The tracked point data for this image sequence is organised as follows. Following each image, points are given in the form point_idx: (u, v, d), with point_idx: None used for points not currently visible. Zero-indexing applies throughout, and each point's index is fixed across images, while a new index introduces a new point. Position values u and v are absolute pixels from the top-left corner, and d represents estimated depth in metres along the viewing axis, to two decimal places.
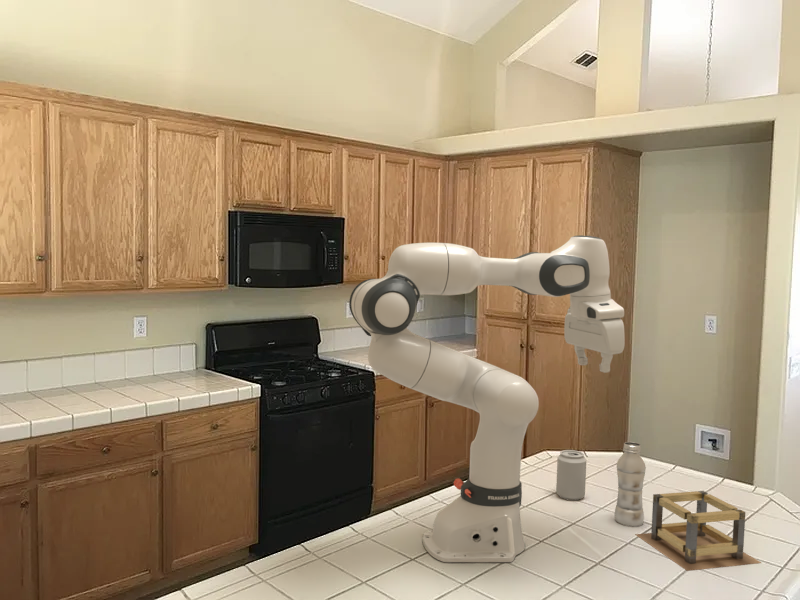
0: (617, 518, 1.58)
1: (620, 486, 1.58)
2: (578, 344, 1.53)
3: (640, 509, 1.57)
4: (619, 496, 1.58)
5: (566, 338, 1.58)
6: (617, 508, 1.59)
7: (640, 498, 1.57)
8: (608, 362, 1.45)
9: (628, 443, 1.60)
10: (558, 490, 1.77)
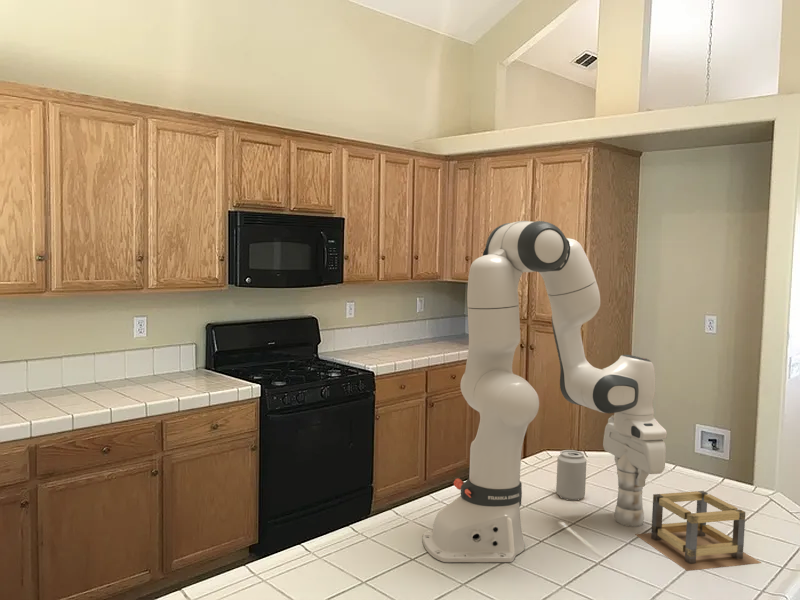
0: (617, 518, 1.58)
1: (620, 486, 1.58)
2: (617, 455, 1.61)
3: (640, 509, 1.57)
4: (619, 496, 1.58)
5: (605, 446, 1.66)
6: (617, 508, 1.59)
7: (640, 498, 1.57)
8: (644, 478, 1.54)
9: None
10: (558, 490, 1.77)
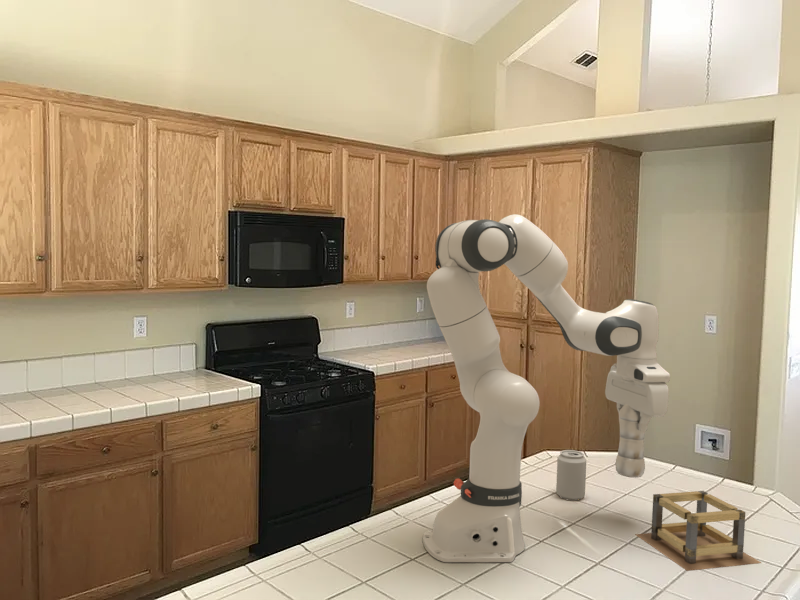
0: (618, 467, 1.57)
1: (622, 435, 1.57)
2: (619, 402, 1.60)
3: (641, 458, 1.56)
4: (621, 445, 1.57)
5: (607, 394, 1.65)
6: (618, 457, 1.57)
7: (642, 447, 1.56)
8: (646, 422, 1.53)
9: None
10: (558, 490, 1.77)
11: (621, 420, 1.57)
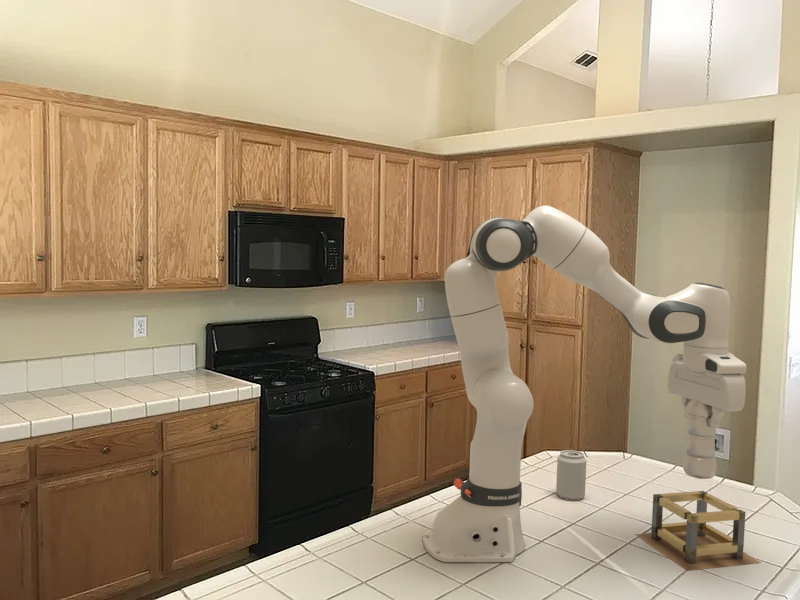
0: (687, 468, 1.43)
1: (691, 432, 1.43)
2: (686, 396, 1.46)
3: (713, 457, 1.42)
4: (689, 443, 1.43)
5: (670, 387, 1.51)
6: (687, 457, 1.43)
7: (713, 445, 1.42)
8: (719, 417, 1.39)
9: None
10: (558, 490, 1.77)
11: (689, 416, 1.43)
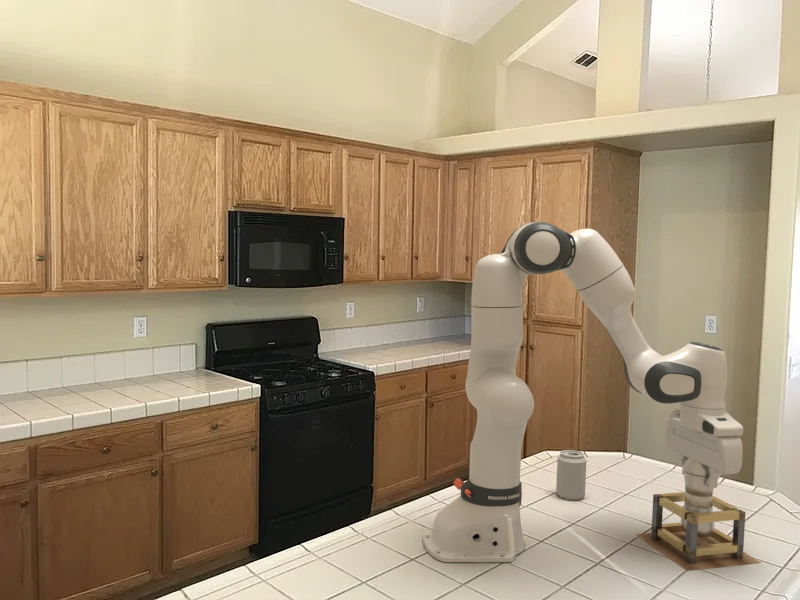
0: (685, 526, 1.44)
1: (688, 491, 1.43)
2: (683, 453, 1.47)
3: None
4: (687, 502, 1.44)
5: (667, 443, 1.52)
6: None
7: (711, 504, 1.43)
8: (716, 478, 1.40)
9: None
10: (558, 490, 1.77)
11: (687, 474, 1.43)
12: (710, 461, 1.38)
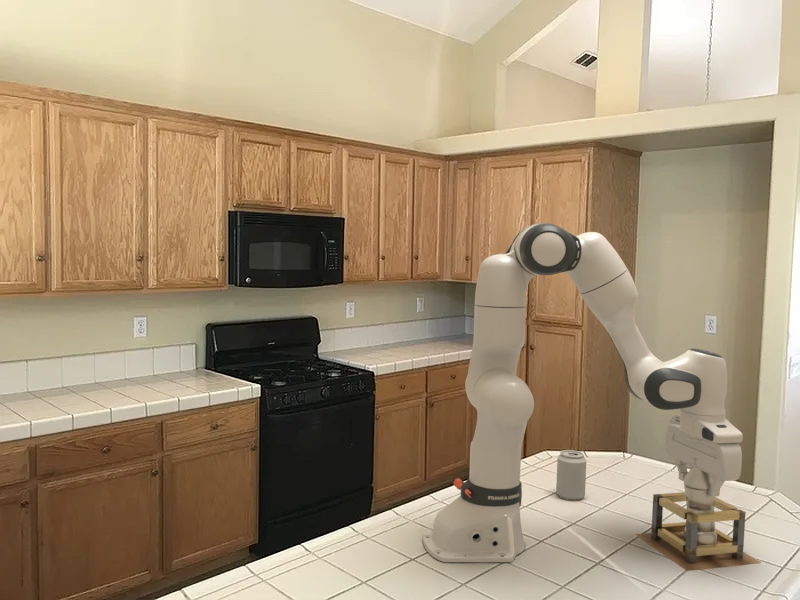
0: None
1: (690, 505, 1.43)
2: (683, 460, 1.47)
3: (713, 531, 1.41)
4: None
5: (667, 449, 1.52)
6: None
7: None
8: (719, 486, 1.39)
9: None
10: (558, 490, 1.77)
11: (687, 489, 1.43)
12: (709, 468, 1.38)
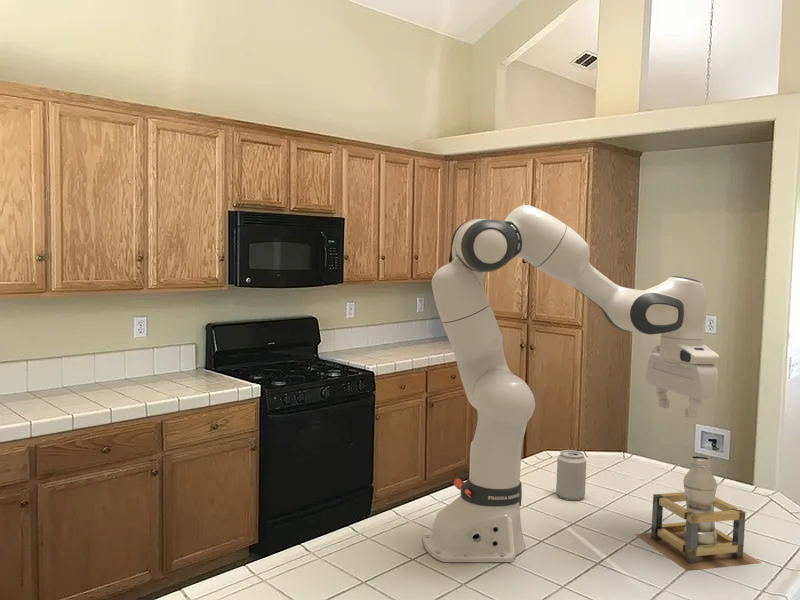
0: None
1: (689, 505, 1.43)
2: (662, 386, 1.50)
3: (713, 531, 1.41)
4: None
5: (648, 378, 1.55)
6: None
7: None
8: (695, 408, 1.42)
9: (695, 457, 1.45)
10: (558, 490, 1.77)
11: (687, 489, 1.43)
12: (687, 390, 1.42)
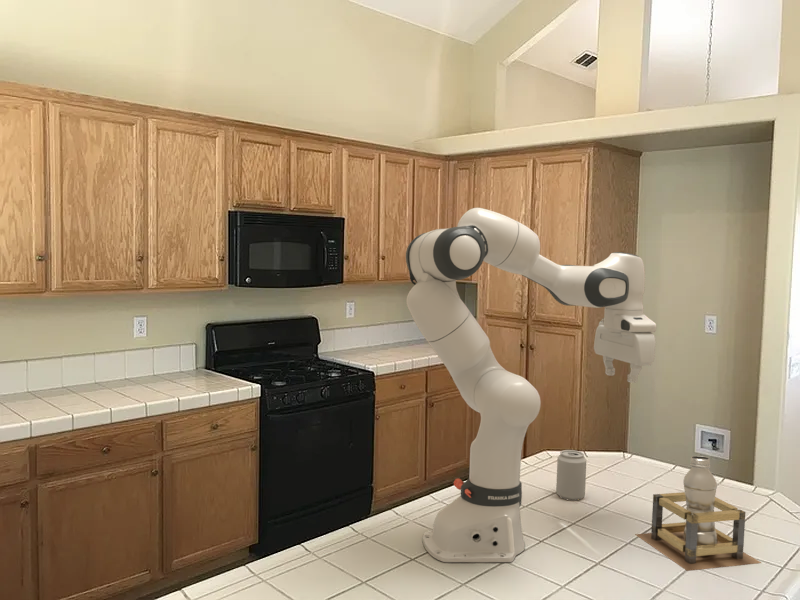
0: None
1: (689, 505, 1.43)
2: (608, 355, 1.62)
3: (713, 531, 1.41)
4: None
5: (595, 349, 1.67)
6: None
7: None
8: (636, 373, 1.54)
9: (695, 457, 1.45)
10: (558, 490, 1.77)
11: (687, 489, 1.43)
12: (628, 356, 1.53)
